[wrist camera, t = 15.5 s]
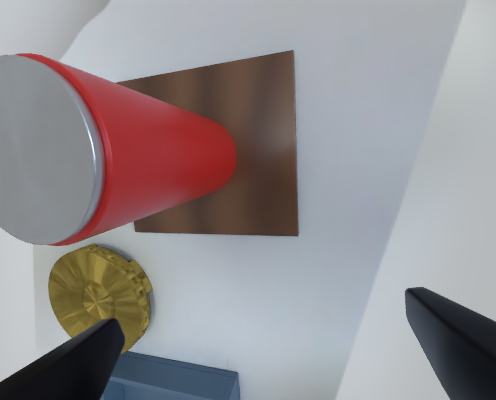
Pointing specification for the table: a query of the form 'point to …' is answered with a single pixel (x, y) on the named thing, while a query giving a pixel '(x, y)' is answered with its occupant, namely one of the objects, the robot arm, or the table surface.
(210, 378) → the tray
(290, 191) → the walnut board
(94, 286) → the gold round disc
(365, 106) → the table surface
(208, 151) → the can
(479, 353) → the robot arm
